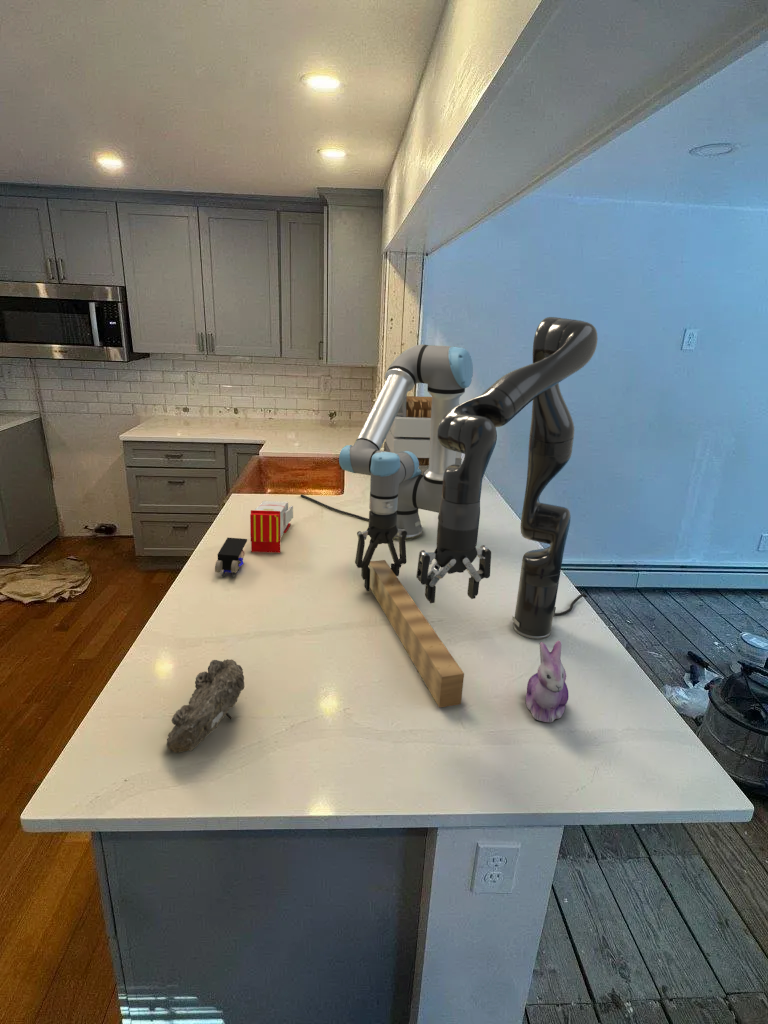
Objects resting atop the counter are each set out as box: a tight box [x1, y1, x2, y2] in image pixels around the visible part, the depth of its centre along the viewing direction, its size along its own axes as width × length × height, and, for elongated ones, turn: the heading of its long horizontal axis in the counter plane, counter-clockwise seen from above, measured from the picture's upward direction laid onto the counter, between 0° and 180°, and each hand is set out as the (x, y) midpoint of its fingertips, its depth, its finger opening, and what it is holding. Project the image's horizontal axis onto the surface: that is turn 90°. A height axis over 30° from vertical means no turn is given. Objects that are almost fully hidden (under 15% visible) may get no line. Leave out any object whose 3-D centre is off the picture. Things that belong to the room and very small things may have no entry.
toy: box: [249, 500, 294, 554], centre depth 191 cm, size 12×13×30 cm
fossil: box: [166, 658, 245, 754], centre depth 106 cm, size 22×10×15 cm
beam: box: [368, 559, 465, 708], centre depth 137 cm, size 55×5×7 cm, turn 17°
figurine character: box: [214, 537, 248, 578], centre depth 166 cm, size 7×8×15 cm
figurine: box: [525, 640, 570, 723], centre depth 112 cm, size 9×10×15 cm
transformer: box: [383, 393, 463, 467], centre depth 268 cm, size 34×33×41 cm
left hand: (379, 587), depth 159 cm, fingers open, 7 cm apart
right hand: (451, 599), depth 110 cm, fingers open, 8 cm apart
